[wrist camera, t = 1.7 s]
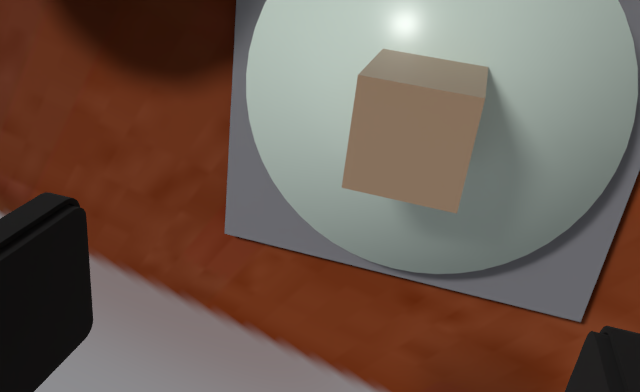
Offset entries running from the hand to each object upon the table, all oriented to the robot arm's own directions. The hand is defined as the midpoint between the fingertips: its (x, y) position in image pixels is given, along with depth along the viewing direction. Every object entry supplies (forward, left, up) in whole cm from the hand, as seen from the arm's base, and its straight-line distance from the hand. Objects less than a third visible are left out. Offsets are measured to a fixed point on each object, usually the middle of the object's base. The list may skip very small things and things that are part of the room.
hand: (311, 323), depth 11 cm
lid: (0, 0, -15) cm, 15 cm away
